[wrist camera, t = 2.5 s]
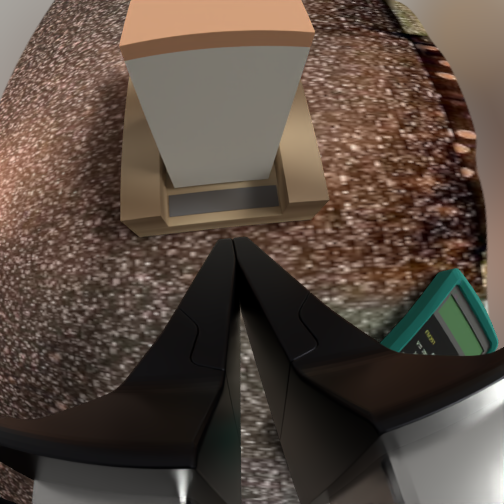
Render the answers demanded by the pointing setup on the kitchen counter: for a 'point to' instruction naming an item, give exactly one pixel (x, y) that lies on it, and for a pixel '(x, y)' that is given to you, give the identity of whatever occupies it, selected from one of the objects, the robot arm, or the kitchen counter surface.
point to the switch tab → (216, 81)
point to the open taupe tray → (220, 194)
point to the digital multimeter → (445, 321)
